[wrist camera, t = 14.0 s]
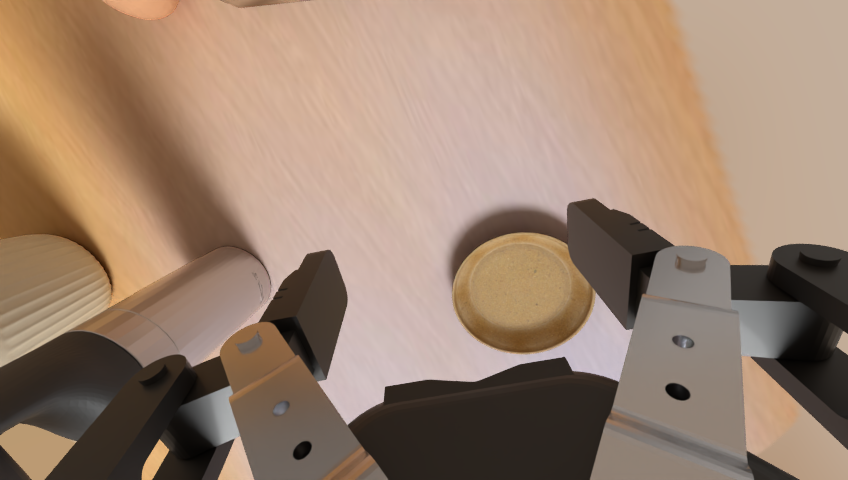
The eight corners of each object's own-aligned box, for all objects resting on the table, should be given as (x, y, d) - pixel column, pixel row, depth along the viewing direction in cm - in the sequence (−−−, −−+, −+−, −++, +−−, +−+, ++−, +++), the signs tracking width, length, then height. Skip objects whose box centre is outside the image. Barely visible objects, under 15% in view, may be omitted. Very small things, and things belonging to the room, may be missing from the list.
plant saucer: (479, 205, 37) (479, 213, 34) (614, 250, 36) (623, 260, 34) (437, 316, 42) (435, 329, 40) (553, 355, 42) (558, 371, 40)
